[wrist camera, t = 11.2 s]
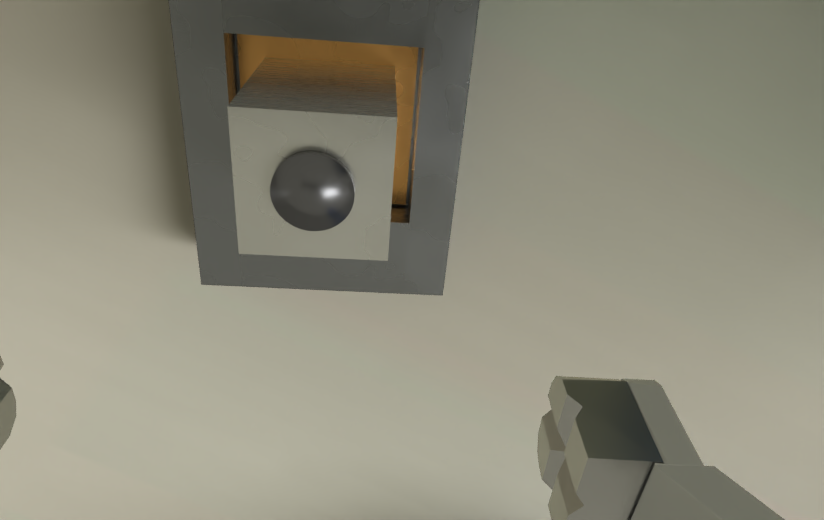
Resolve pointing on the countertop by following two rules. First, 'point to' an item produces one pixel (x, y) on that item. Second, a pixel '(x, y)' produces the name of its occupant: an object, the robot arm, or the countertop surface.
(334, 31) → the grey compartment tray
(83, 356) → the countertop surface
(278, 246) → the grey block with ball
